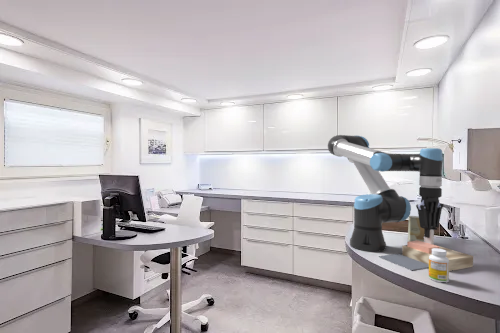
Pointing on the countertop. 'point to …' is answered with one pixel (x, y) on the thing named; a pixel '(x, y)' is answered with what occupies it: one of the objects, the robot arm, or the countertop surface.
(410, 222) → the skincare box
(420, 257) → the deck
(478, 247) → the countertop surface
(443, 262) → the supplement bottle
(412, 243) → the salmon pink rectangular block
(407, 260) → the mat
